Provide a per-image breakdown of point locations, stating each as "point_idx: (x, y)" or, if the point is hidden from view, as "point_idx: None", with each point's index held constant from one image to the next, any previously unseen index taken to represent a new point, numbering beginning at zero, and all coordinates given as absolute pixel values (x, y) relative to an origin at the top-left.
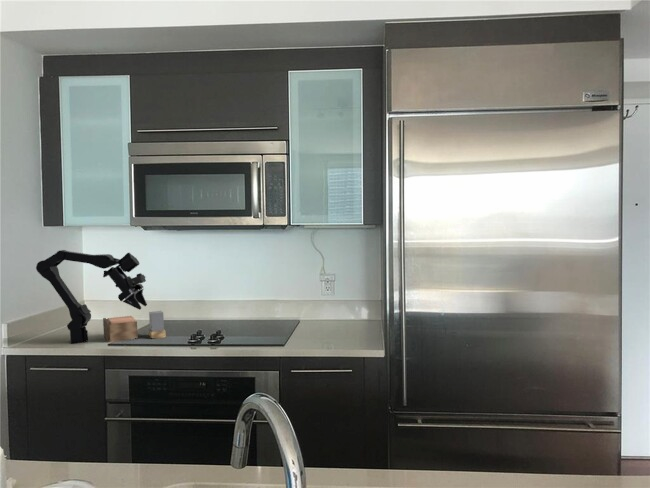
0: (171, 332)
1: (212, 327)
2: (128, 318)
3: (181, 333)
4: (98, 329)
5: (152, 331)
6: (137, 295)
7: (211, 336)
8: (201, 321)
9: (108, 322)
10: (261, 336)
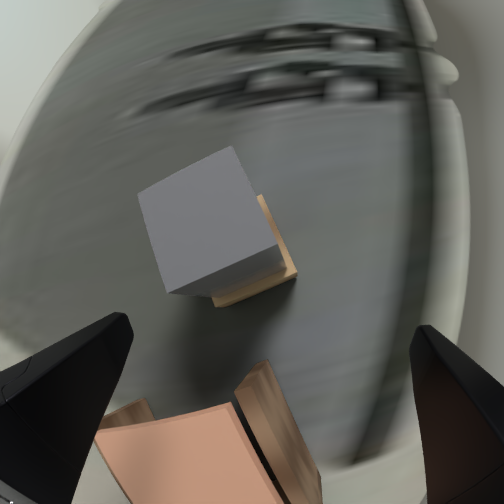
0: None
1: (118, 89)
2: (191, 453)
3: (181, 159)
4: None
5: (286, 267)
6: (29, 462)
7: (279, 49)
8: (24, 162)
9: None
10: None
